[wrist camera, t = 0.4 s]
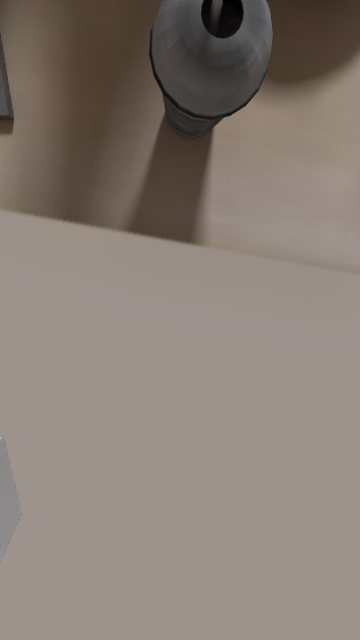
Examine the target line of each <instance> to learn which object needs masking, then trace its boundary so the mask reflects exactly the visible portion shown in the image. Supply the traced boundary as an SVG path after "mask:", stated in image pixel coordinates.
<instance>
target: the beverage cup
mask: <svg viewBox="0 0 360 640" xmlns="http://www.w3.org/2000/svg"><path fill="white" fill-rule="evenodd" d="M272 39H273V31H272V23H271V15H270V9H269V6H268V4H267V2H266V0H162V2H161V5H160V8H159V10H158V12H157V15H156V18H155V21H154V23H153V26H152V29H151V33H150V50H149V56H150V61H151V65H152V70H153V75H154V78H155V79H156V81H157V83H158V85H159V87H160V89H161V91H162V93H163V99H164V105H165V110H166V115H167V118H168V121H169V123H170V125H171V127H172V129H173V130H174V131H175V132H176V133H177V134H179V135H181V136H183V137H185V138H197V137H200V136H202V135H203V134H205V133H207V132H208V131H210V130H211V129H212V128H213V127H214V126H215V125H216V124H217V123H219V122H220V121H221V120H222V119H223V118H224V117H227V116H231V115H232V114H234V113H235V112H237V111H238V110H240V109H242V108H243V107H245V106H246V105H247V104H248V103H249V101H250V100H251V99H252V98H253V97H254V95H255V94H256V93H257V92H258V91H259V88H260V86H261V84H262V81H263V79H264V77H265V74H266V72H267V67H268V64H269V60H270V54H271V47H272Z"/></svg>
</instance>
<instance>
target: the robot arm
mask: <svg viewBox="0 0 360 640" xmlns="http://www.w3.org/2000/svg"><path fill="white" fill-rule="evenodd" d="M21 515H22V512H21V508H20V503H19V499H18V495H17V491H16V486H15V482H14V479H13V474H12V469H11V465H10V461H9V457H8V452H7V448H6V444H5V440H4V436H0V562H1V559H2V557H3V555H4V553H5V551H6V548H7V546H8V544H9V542H10V540H11V537H12V535H13V533H14V531H15V528H16V526H17V524H18V522H19V520H20V517H21Z"/></svg>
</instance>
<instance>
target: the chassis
mask: <svg viewBox="0 0 360 640" xmlns="http://www.w3.org/2000/svg"><path fill="white" fill-rule="evenodd" d="M1 119H14V116H13V109H12V103H11V97H10V91H9V84H8V78H7V72H6V65H5V59H4V53H3V46H2V40H1V34H0V120H1Z"/></svg>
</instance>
